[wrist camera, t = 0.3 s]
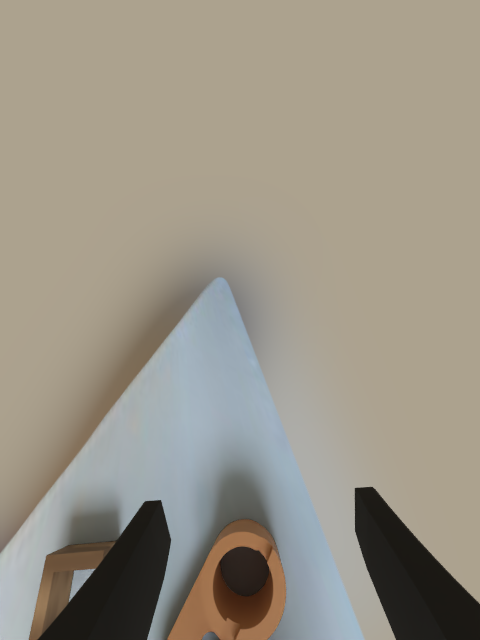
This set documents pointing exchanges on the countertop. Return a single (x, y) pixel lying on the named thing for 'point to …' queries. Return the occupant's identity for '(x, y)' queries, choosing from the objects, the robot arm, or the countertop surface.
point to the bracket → (222, 603)
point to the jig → (63, 580)
